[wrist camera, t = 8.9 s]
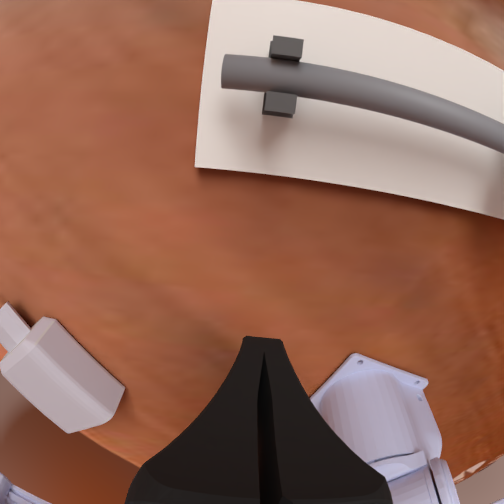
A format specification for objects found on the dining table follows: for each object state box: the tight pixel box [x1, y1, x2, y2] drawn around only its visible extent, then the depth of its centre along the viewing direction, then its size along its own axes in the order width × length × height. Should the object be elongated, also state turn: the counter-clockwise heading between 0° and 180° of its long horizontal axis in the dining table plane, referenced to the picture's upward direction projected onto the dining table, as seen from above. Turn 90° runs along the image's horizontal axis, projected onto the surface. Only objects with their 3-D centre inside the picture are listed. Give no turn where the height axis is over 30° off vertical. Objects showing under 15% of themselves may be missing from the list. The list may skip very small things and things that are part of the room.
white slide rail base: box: [195, 0, 504, 220], centre depth 13 cm, size 29×10×6 cm, turn 84°
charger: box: [0, 302, 125, 433], centre depth 23 cm, size 5×9×15 cm
